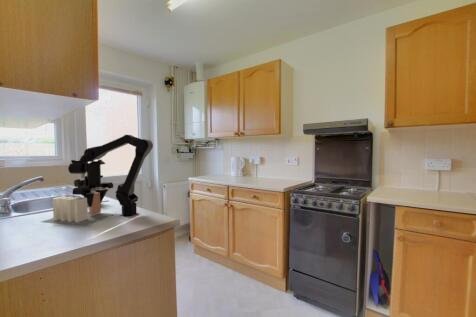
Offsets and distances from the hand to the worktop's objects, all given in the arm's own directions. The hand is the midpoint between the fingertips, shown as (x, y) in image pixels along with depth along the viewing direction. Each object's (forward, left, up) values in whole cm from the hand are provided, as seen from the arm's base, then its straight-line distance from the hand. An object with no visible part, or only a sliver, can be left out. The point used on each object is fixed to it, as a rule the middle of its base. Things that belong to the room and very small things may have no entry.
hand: (94, 205), depth 113 cm
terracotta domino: (0, 0, -4) cm, 4 cm away
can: (+21, -13, -6) cm, 25 cm away
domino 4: (-3, +8, -5) cm, 10 cm away
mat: (+2, +6, -5) cm, 8 cm away
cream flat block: (+5, +10, -5) cm, 12 cm away
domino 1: (+9, +10, -5) cm, 15 cm away
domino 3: (+1, +9, -5) cm, 10 cm away
